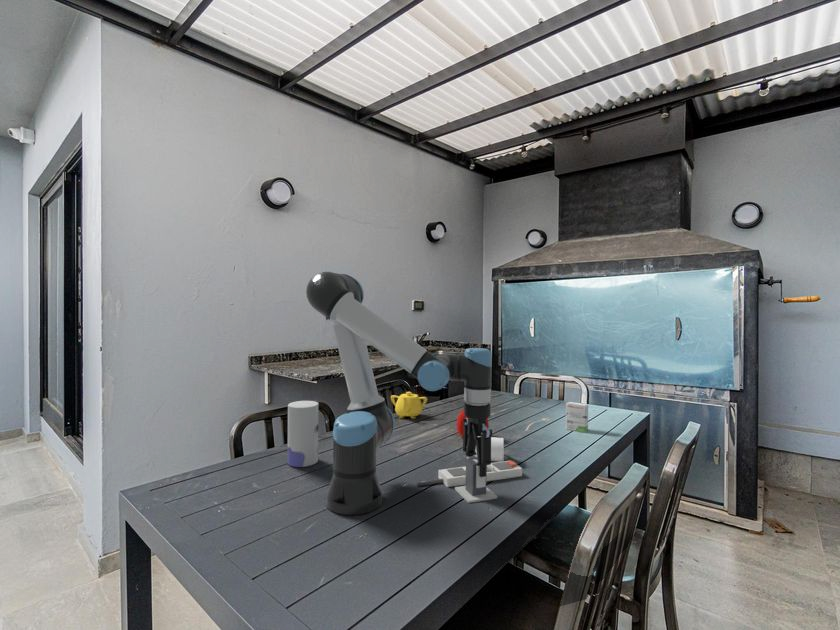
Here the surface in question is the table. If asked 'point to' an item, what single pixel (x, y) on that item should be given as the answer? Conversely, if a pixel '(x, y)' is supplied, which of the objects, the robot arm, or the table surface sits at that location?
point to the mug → (496, 449)
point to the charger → (473, 478)
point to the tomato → (460, 423)
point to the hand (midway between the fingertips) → (475, 482)
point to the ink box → (577, 417)
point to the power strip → (493, 473)
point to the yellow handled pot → (408, 404)
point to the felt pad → (470, 498)
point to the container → (302, 433)
